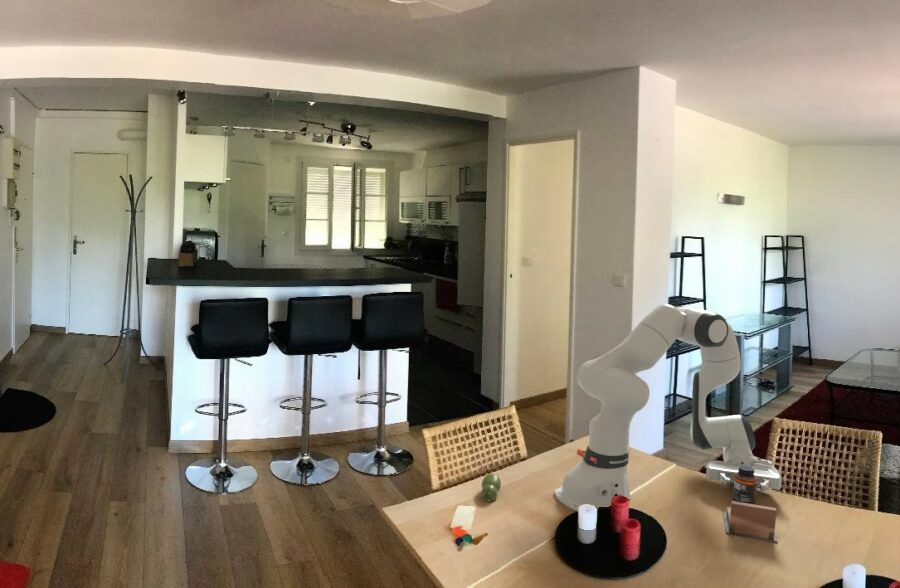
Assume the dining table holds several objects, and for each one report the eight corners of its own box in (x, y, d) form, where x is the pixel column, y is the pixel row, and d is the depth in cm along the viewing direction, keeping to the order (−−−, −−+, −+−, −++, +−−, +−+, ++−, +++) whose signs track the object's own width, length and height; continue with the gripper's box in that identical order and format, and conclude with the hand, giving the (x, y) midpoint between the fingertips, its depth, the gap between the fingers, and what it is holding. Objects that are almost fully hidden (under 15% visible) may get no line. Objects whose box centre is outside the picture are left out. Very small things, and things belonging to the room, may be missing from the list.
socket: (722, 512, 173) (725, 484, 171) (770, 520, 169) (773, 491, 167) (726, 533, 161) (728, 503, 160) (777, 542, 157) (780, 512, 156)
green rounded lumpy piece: (502, 471, 184) (497, 491, 175) (502, 486, 186) (497, 507, 176) (484, 469, 185) (478, 489, 176) (484, 484, 187) (478, 504, 178)
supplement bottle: (750, 500, 180) (753, 463, 179) (758, 510, 174) (762, 472, 173) (729, 499, 181) (732, 462, 179) (736, 509, 175) (739, 471, 173)
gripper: (704, 452, 192) (707, 469, 179) (778, 462, 185) (785, 481, 173) (703, 471, 193) (705, 489, 180) (776, 482, 186) (783, 502, 174)
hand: (745, 485), depth 176 cm, fingers open, 8 cm apart
